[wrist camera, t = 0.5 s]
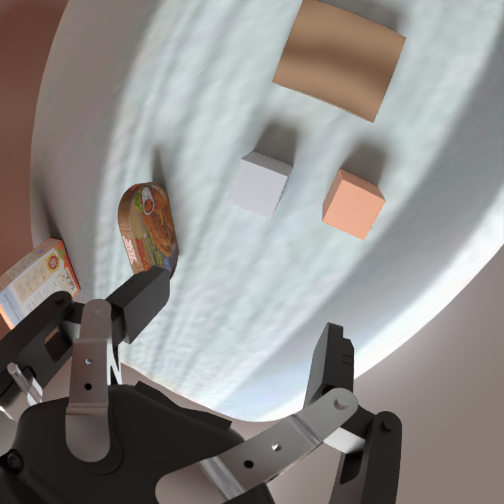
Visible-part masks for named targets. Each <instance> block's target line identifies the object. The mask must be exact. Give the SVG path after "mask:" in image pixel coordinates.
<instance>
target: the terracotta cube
mask: <svg viewBox="0 0 504 504" xmlns="http://www.w3.org/2000/svg"><path fill="white" fill-rule="evenodd" d="M385 201H386V200H385V199H384V197H383V195H382V193H381V192H380V190H379V188H378V187H377V186H375V185H373V184H371V183H369V182H367V181H365V180H363V179H361V178H359V177H357V176H355V175H353V174H351V173H349V172H347V171H345V170H343V169H339V171H338V173H337V175H336V178H335V180H334V182H333V184H332V186H331V188H330V191H329V193H328V195H327V197H326V199H325V201H324V204H323V214H322V222H324V223H327V224H329V225H331V226H333V227H336V228H338V229H340V230H342V231H344V232H347V233H349V234H351V235H353V236H355V237H357V238H360V239H362V240H364V239H365V237H366V235H367V234H368V232H369V230H370V229H371V227H372V225H373V223H374V221H375V220H376V218H377V216H378V214H379V212H380V211H381V209H382V207H383V205H384V203H385Z"/></svg>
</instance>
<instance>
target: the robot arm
mask: <svg viewBox="0 0 504 504" xmlns="http://www.w3.org/2000/svg"><path fill="white" fill-rule="evenodd" d="M169 295H170V271H169V270H168V269H166V268H163V267H161V266H158V265H154V266H152V267H151V268H150V269H149V270H147V271H141V272H139V273H136V274H134V275H133V276H132V277H131V278H130V279H128V281H126V282H125V283H124V284H123V285H121V286H120V287H119V288H118V289H116V290H115V291H114V292H113V293H112V294H111V295H109V296H108V297H107V298H106V299H105V300H103V299H94V300H91V301H89V302H87V303H86V304H82V303H78V302H73V299H72V295H71V294H70V293H69V292H67V291H57V292H54V293H52V294H51V295H50V296H49V297H48V298H46V299H45V300H44V301H43V302H42V303H41V304H39V305H38V306H37V307H36V308H35V309H34V310H33V311H31V312H30V313H29V314H28V315H27V316H26V317H25V318H24V319H23V320H22V321H20V322H19V323H18V324H17V325H16V326H15V327H14V328H13V329H12V330H11V331H10V332H9V333H8V334H7V335H6V336H5V337H4V338H3V339H2V340H1V341H0V409H1V410H2V411H3V412H4V413H5V414H6V415H7V416H8V417H9V418H11V419H13V420H14V421H15V422H16V423H17V424H18V426H17V432H16V436H15V440H14V442H13V445H12V447H11V449H10V450H9V451H8V452H7V453H6V454H4V455H2V456H1V457H0V504H275V502H274V500H273V498H272V495H271V493H270V491H269V489H268V487H267V485H266V484H267V483H268V482H270V481H272V480H274V479H275V478H276V477H278V476H280V475H281V474H283V473H284V472H286V471H287V470H288V469H290V468H291V467H293V466H294V465H295V464H297V463H298V462H299V461H301V460H302V459H303V458H305V457H306V456H307V455H309V454H310V453H311V452H313V451H314V450H315V449H316V448H318V447H319V446H320V445H322V444H323V443H326V444H328V445H330V446H332V447H334V448H336V449H338V450H340V451H342V452H341V457H340V462H339V466H338V470H337V474H336V479H335V483H334V486H333V490H332V494H331V498H330V501H329V504H395V502H396V496H397V488H398V480H399V470H400V459H401V442H402V424H401V421H400V419H399V418H398V417H397V416H396V415H395V414H394V413H392V412H388V411H383V412H380V413H378V414H377V415H375V414H373V413H371V412H369V411H367V410H365V409H363V408H362V407H361V406H360V405H359V404H358V401H357V398H356V396H355V395H354V394H353V380H354V366H353V365H354V347H353V345H352V343H351V341H350V339H346V338H343V326H340V325H336V324H333V323H329V322H328V323H327V324H326V326H325V328H324V330H323V333H322V335H321V337H320V339H319V341H318V343H317V345H316V348H315V350H314V354H313V359H312V364H311V370H310V375H309V381H308V386H307V391H306V396H305V401H304V405H303V410H302V411H301V412H300V413H298V414H297V415H294V414H292V415H290V416H288V417H286V418H285V419H283V420H282V421H280V422H278V423H276V424H275V425H273V426H271V427H270V428H268V429H266V430H265V431H263V432H261V433H260V434H258V435H256V436H254V437H252V438H251V439H249V440H247V441H245V439H244V438H243V437H242V436H241V435H240V434H239V433H237V432H236V431H235V430H233V429H232V428H230V426H231V423H232V421H229V420H227V419H224V418H221V417H218V416H216V415H213V414H210V413H208V412H203V411H197V410H191V409H186V408H182V407H179V406H178V405H176V404H175V403H174V402H172V401H171V400H170V399H169V398H168V397H166V396H165V395H164V394H162V393H161V392H160V391H158V390H156V389H154V388H152V387H150V386H148V385H146V384H145V383H143V382H141V381H138V382H137V384H136V385H135V386H134V385H128V384H122V379H121V368H120V346H119V344H120V343H121V342H122V341H124V342H126V343H128V344H131V343H132V342H133V341H134V339H135V338H136V337H137V336H138V335H139V334H140V333H141V332H142V330H143V329H144V328H145V327H146V326H147V325H148V324H149V323H150V321H151V320H152V319H153V318H154V317H155V316H156V315H157V314H158V312H159V311H160V310H161V309H162V308H163V307H164V306H165V305H166V303H167V301H168V299H169ZM55 328H57V330H58V332H57V333H56V334H55V335H54V336H53V337H52V338H51V339H50V340H49V341H48V342H47V343H46V344H45V339H46V337H47V336H48V335H49V334H50V333H51V332H52V331H53V330H54V329H55ZM71 356H72V361H71V373H70V389H69V397H65V398H60V399H56V400H52V401H47V402H42V400H41V398H42V390H43V389H44V388H45V386H46V385H47V384H48V383H49V381H50V380H51V379H52V378H53V377H54V375H55V374H56V373H57V372H58V371H59V369H60V368H61V367H62V366H63V365H64V364H65V362H66V361H67V360H68V359H69V358H70V357H71Z"/></svg>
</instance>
